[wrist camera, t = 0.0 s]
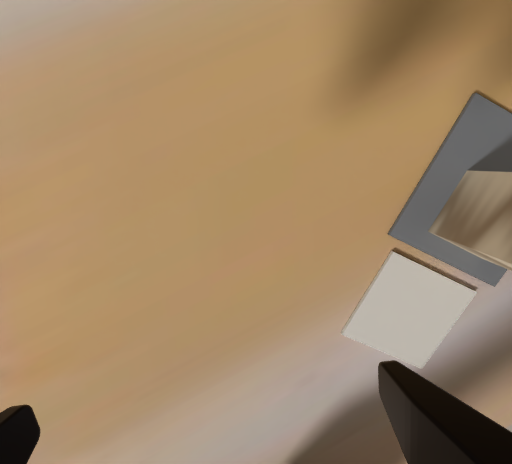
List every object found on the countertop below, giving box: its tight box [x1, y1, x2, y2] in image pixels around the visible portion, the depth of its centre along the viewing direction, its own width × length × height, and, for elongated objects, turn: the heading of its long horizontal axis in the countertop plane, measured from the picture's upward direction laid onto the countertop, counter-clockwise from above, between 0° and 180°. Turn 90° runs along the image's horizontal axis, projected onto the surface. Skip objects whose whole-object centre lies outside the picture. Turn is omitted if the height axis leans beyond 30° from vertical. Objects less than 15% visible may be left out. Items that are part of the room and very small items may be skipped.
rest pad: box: [341, 251, 477, 369], centre depth 23 cm, size 8×8×1 cm
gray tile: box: [388, 93, 512, 287], centre depth 21 cm, size 11×10×1 cm
